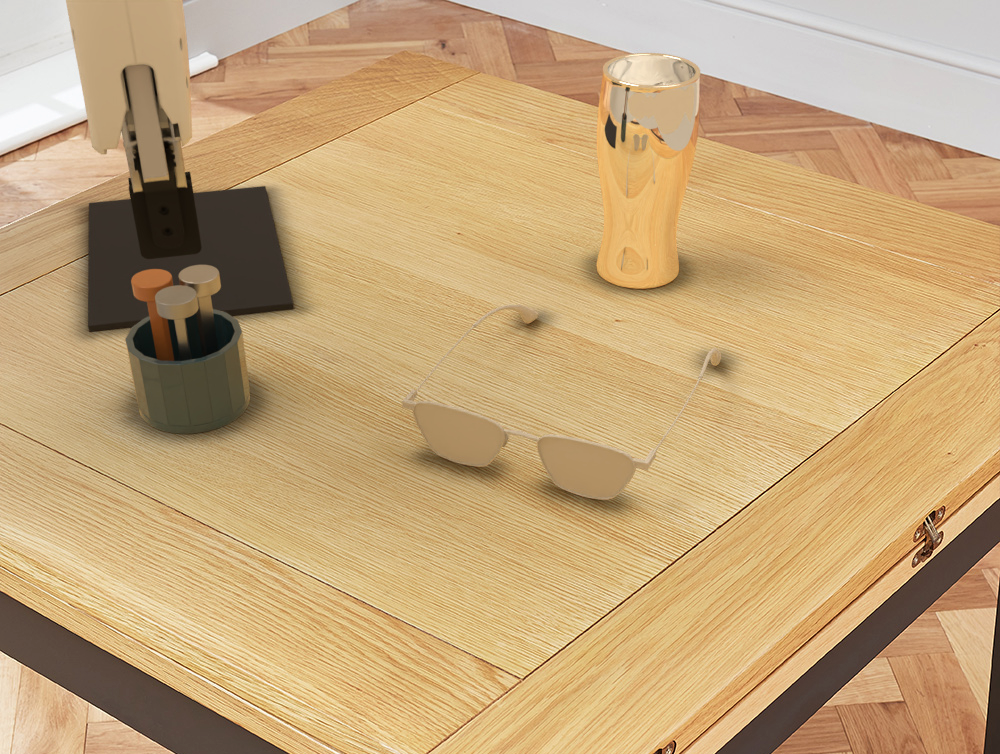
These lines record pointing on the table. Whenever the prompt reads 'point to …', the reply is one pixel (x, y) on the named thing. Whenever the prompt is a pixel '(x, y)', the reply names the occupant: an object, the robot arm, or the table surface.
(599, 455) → the eyeglasses
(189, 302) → the cream disc-head peg
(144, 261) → the mat
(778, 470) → the table surface
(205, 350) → the beige disc-head peg
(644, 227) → the beer glass
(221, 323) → the cup
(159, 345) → the orange disc-head peg
